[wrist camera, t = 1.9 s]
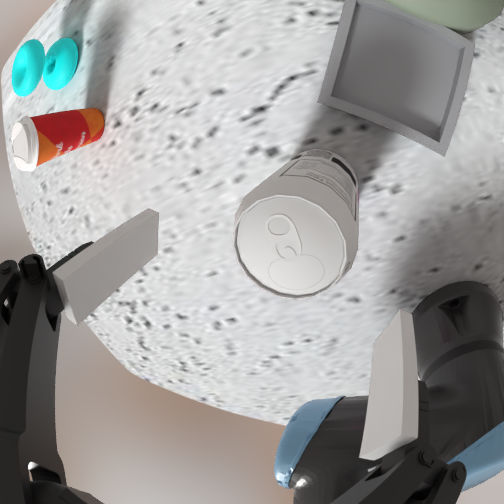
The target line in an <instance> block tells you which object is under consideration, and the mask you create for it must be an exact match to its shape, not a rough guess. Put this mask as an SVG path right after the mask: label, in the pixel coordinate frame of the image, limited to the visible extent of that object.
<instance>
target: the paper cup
mask: <svg viewBox="0 0 504 504" xmlns="http://www.w3.org/2000/svg"><path fill="white" fill-rule="evenodd" d="M103 131H104V117H103V115H102V113H101V111H100V110H99V109H97V108H87V109H78V110H70V111H63V112H56V113H50V114H45V115H40V116H35V117H28V116H25V117H23V118H22V119H21V120H20V121H18V122H17V123H16V124H15V125H14V127H13V130H12V136H11V142H12V143H13V145H12V151H13V153H14V157H13V158H14V161H15V163H16V165H17V167H18V168H19V169H20V170H21V171H26V170H27V171H33V170H34V169H35V167H36V166H38V165H40V164H42V163H44V162H47V161H49V160H51V159H53V158H56V157H58V156H60V155H63V154H65V153H67V152H70V151H72V150H75V149H77V148H80V147H82V146H85V145H87V144H90V143H92V142H95V141H97V140H99V139H100V138H101V136H102V134H103Z"/></svg>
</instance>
